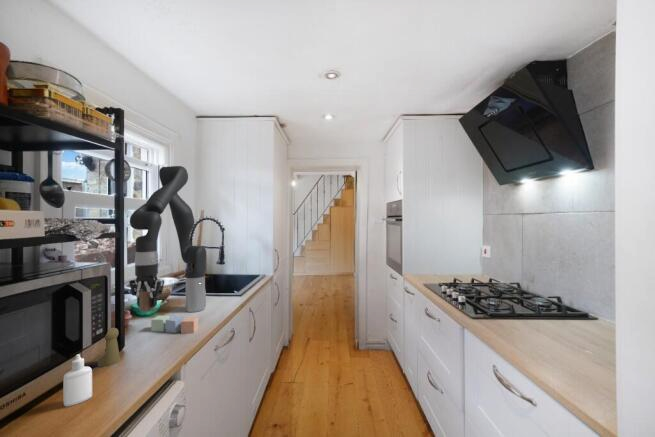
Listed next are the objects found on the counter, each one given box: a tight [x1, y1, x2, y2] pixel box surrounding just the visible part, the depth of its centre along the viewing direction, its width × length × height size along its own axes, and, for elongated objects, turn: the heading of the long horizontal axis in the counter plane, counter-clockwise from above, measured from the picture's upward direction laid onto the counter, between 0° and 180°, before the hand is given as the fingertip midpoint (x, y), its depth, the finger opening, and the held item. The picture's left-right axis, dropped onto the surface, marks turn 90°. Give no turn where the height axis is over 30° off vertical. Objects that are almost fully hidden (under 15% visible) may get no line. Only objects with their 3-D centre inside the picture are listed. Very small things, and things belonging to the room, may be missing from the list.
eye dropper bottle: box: [62, 353, 93, 407], centre depth 76 cm, size 4×6×12 cm
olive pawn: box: [97, 327, 121, 368], centre depth 97 cm, size 6×6×11 cm
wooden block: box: [138, 288, 156, 313], centre depth 114 cm, size 4×4×8 cm
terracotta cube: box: [180, 317, 199, 335], centre depth 124 cm, size 5×5×5 cm
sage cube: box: [150, 315, 171, 332], centre depth 126 cm, size 5×5×5 cm
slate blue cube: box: [165, 315, 185, 334], centre depth 125 cm, size 5×5×5 cm
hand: (147, 306), depth 114 cm, fingers closed on wooden block, 5 cm apart
